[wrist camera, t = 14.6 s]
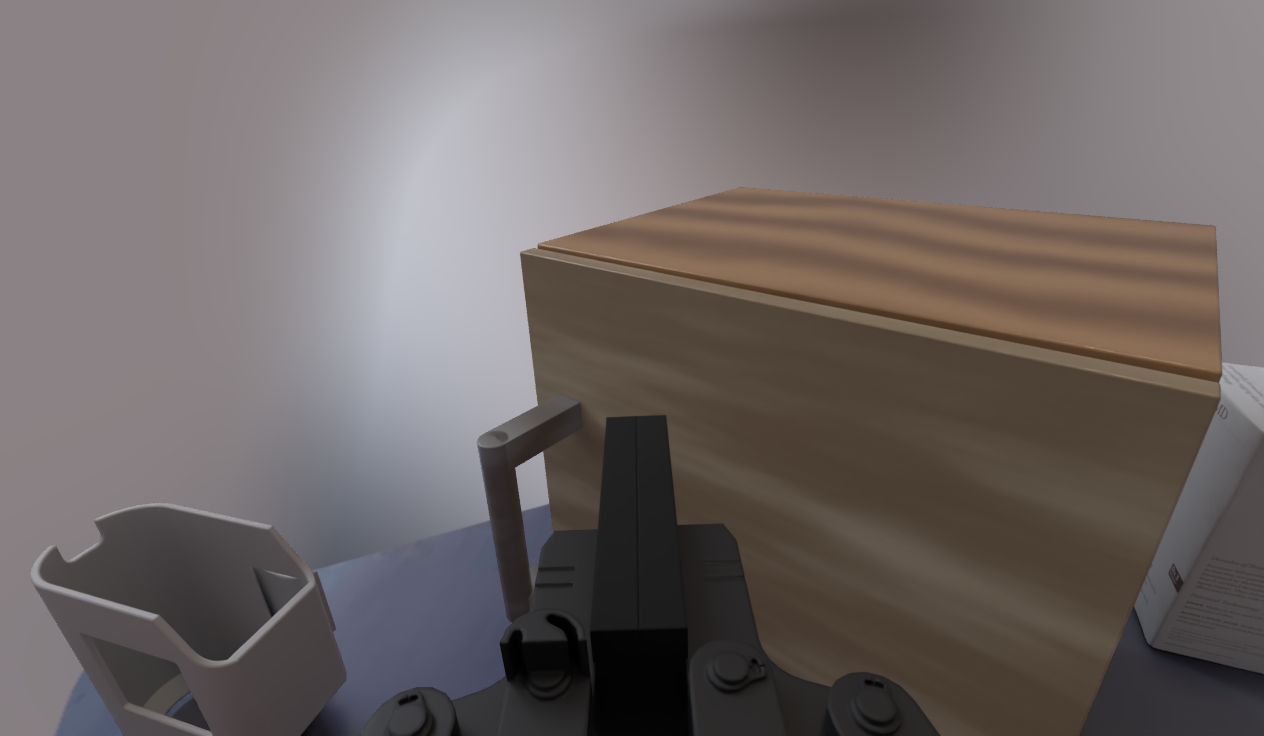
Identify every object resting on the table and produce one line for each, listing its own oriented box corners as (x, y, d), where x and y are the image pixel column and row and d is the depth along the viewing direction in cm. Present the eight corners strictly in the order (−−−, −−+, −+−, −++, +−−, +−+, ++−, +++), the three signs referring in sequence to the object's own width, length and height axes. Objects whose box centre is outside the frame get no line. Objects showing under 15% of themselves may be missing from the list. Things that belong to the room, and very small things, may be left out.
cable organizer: (285, 823, 28) (197, 635, 23) (95, 749, 32) (-18, 572, 26) (380, 696, 34) (326, 522, 29) (210, 645, 37) (136, 483, 32)
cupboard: (1000, 911, 24) (1223, 372, 14) (575, 618, 38) (536, 243, 28) (1070, 623, 36) (1216, 225, 26) (729, 481, 50) (740, 186, 40)
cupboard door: (955, 1096, 20) (1226, 518, 10) (495, 687, 34) (416, 280, 24) (1000, 915, 24) (1222, 381, 14) (573, 618, 38) (534, 247, 28)
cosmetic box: (1105, 555, 41) (1182, 354, 35) (1218, 576, 39) (1320, 366, 33) (1151, 656, 34) (1257, 426, 28) (1290, 687, 32) (1439, 447, 26)
